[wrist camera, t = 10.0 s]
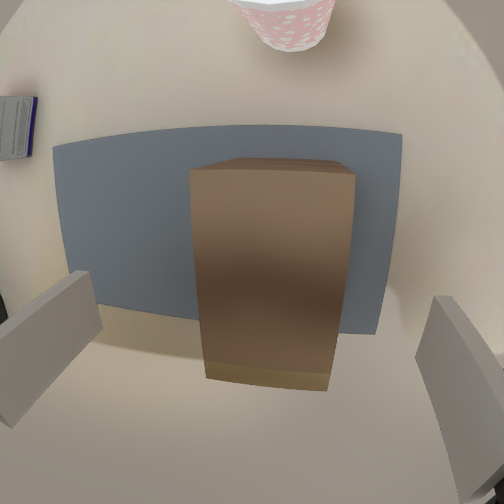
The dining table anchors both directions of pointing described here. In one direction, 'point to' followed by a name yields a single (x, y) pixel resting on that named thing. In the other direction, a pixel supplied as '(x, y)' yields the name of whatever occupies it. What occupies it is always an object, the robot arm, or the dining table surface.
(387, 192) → the slate mat
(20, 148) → the supplement box
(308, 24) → the beverage cup
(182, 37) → the dining table surface
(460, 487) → the robot arm
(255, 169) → the walnut block
